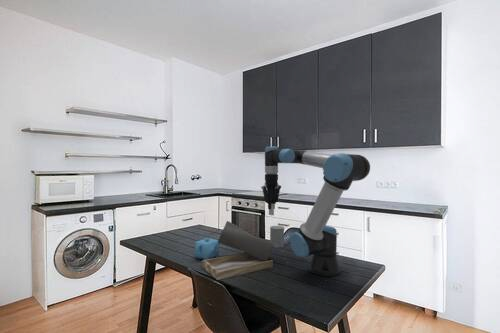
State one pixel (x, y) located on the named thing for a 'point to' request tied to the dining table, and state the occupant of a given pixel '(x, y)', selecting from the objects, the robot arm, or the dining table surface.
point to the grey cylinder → (277, 236)
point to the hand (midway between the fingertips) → (271, 214)
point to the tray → (234, 265)
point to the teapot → (206, 248)
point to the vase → (245, 242)
